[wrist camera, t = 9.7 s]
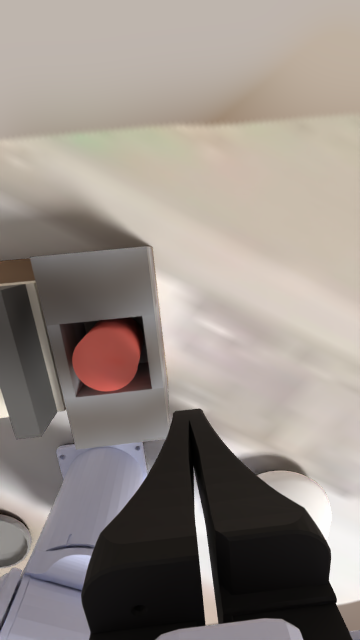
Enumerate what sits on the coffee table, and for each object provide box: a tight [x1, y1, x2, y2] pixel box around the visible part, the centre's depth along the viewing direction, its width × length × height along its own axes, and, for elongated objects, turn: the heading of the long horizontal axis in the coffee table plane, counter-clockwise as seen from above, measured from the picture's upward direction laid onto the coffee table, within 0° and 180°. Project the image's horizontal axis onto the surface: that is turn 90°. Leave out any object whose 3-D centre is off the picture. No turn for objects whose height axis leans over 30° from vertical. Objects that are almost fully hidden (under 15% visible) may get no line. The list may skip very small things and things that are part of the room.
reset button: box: [72, 317, 143, 391], centre depth 16 cm, size 4×4×4 cm
